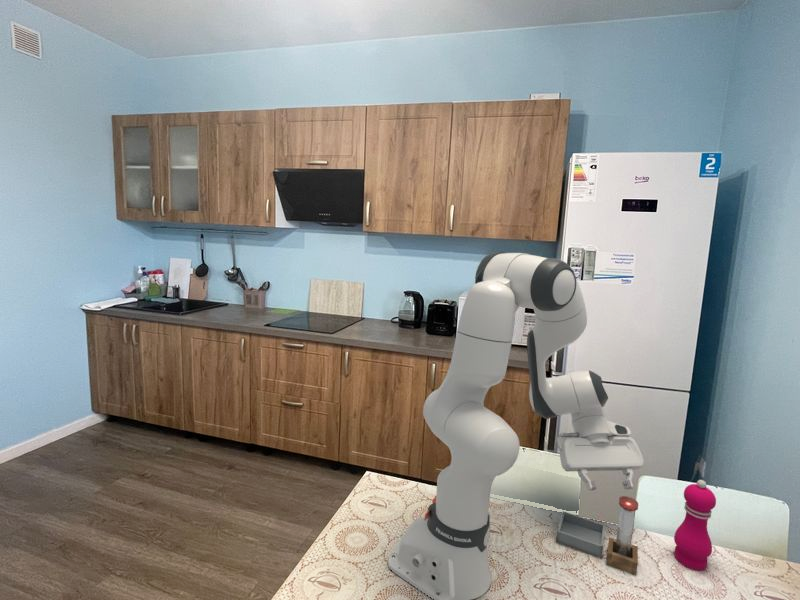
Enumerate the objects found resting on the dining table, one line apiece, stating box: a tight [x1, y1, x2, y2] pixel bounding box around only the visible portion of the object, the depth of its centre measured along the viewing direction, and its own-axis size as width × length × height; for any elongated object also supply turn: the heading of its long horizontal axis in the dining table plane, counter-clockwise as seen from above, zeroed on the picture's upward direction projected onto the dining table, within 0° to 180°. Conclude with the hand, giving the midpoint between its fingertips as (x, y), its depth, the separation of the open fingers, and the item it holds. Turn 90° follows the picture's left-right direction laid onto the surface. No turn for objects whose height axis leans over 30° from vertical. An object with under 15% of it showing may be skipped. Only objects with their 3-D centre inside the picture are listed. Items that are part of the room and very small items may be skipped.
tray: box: [556, 510, 606, 560], centre depth 104 cm, size 10×9×3 cm
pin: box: [615, 495, 639, 558], centre depth 96 cm, size 4×4×15 cm
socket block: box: [605, 536, 639, 576], centre depth 97 cm, size 6×6×3 cm
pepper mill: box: [673, 479, 717, 571], centre depth 97 cm, size 7×7×20 cm
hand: (610, 489), depth 102 cm, fingers open, 8 cm apart
